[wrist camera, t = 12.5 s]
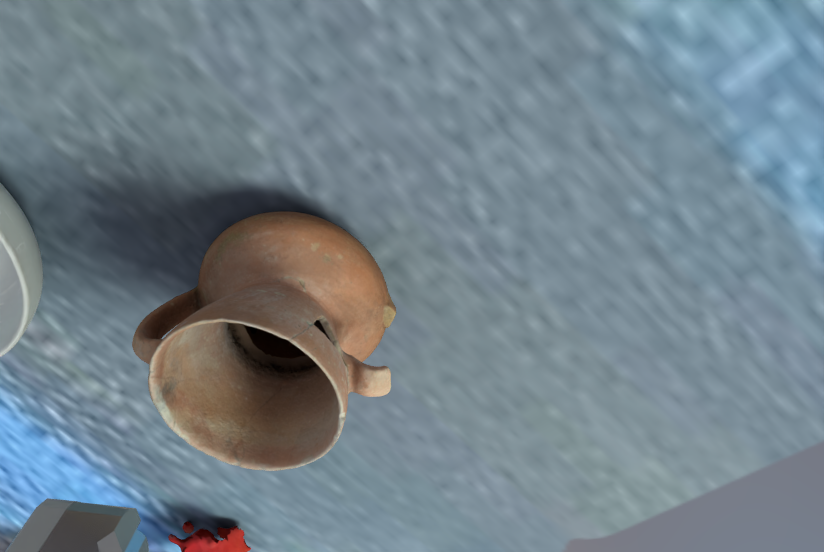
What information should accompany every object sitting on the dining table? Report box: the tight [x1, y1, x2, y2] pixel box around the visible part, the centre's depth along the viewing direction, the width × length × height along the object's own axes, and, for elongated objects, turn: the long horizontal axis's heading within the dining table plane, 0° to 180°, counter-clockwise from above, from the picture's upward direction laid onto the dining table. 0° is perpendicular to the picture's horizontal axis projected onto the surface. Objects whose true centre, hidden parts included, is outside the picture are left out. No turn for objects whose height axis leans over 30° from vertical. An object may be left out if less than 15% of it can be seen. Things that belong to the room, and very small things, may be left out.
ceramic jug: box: [132, 211, 396, 471], centre depth 44 cm, size 18×14×14 cm
